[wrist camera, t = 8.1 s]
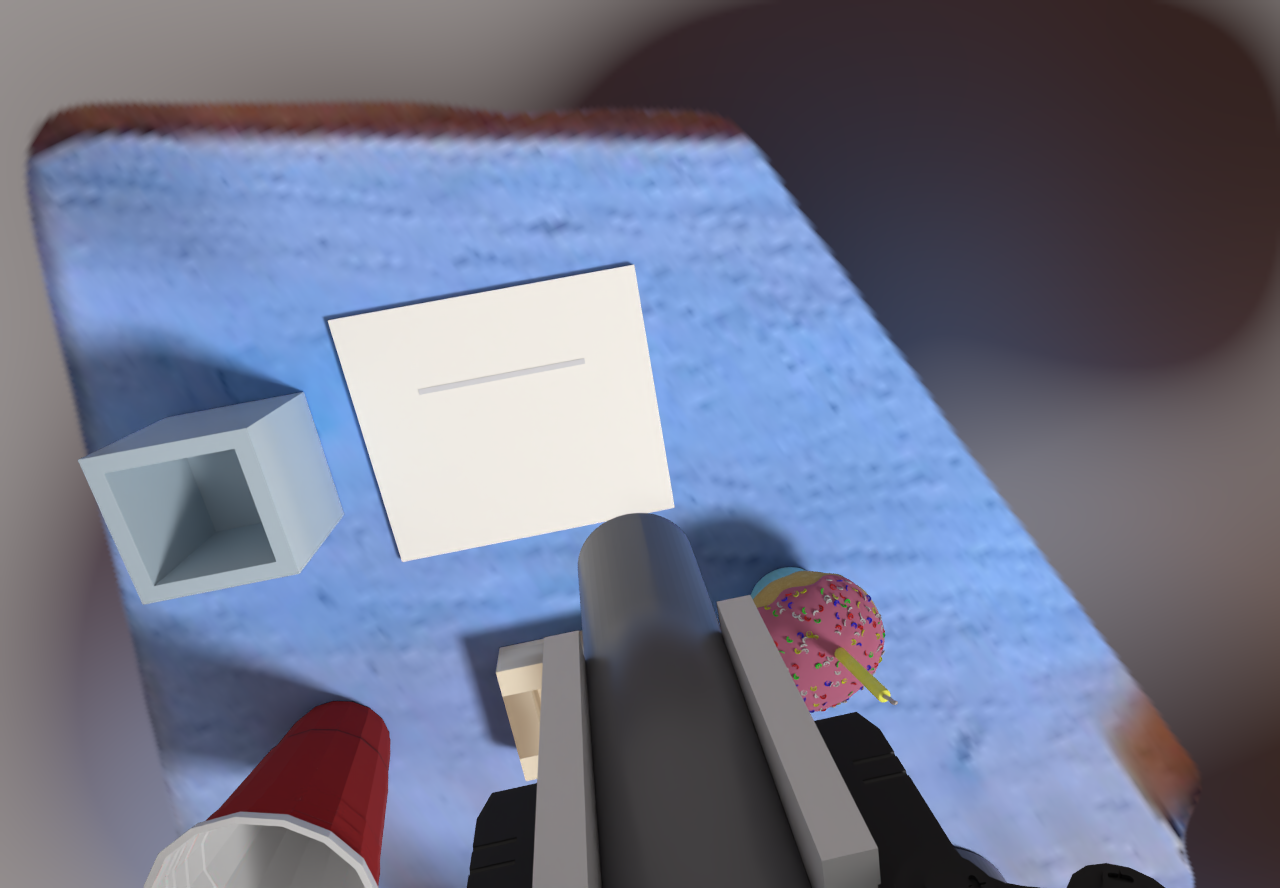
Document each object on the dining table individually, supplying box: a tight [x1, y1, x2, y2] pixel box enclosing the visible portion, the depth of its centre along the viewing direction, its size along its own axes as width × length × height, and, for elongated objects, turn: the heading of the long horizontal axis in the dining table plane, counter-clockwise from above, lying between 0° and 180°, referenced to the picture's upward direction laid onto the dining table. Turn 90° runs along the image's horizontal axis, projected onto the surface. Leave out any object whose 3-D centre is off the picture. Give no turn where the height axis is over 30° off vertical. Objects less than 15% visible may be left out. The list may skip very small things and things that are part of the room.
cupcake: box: [751, 567, 898, 713], centre depth 38 cm, size 9×8×12 cm
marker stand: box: [496, 631, 584, 781], centre depth 43 cm, size 8×8×2 cm
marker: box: [578, 513, 812, 888], centre depth 14 cm, size 3×3×14 cm
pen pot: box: [78, 392, 344, 605], centre depth 35 cm, size 7×7×7 cm
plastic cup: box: [144, 701, 390, 888], centre depth 38 cm, size 11×11×12 cm
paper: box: [328, 265, 675, 562], centre depth 38 cm, size 16×14×1 cm
